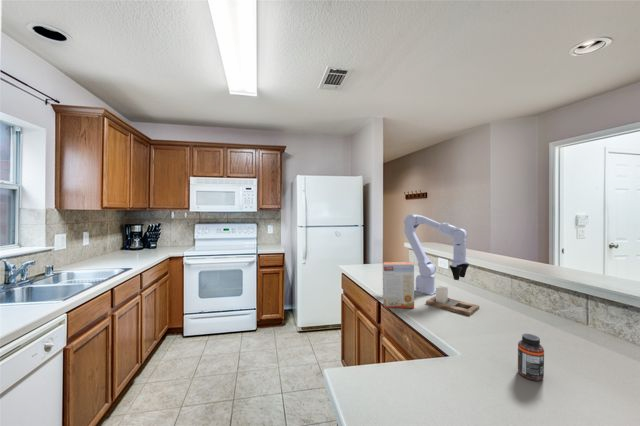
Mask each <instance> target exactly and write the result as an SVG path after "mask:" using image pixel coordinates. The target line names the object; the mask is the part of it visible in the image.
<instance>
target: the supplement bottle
mask: <svg viewBox="0 0 640 426" xmlns="http://www.w3.org/2000/svg"><path fill="white" fill-rule="evenodd" d="M521 336H522V337H521V340H519V341H518V342H517V372H518V373H519V374H520V375H521V376H522V377H523V378H525V379H527V380H530V381H533V382H540V381H542V380H544V375H545V348H544V346H542V344H540V343H541V339H540V336H539V337H538V335H535V334H532V333H523V334H522V335H521Z"/></svg>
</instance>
